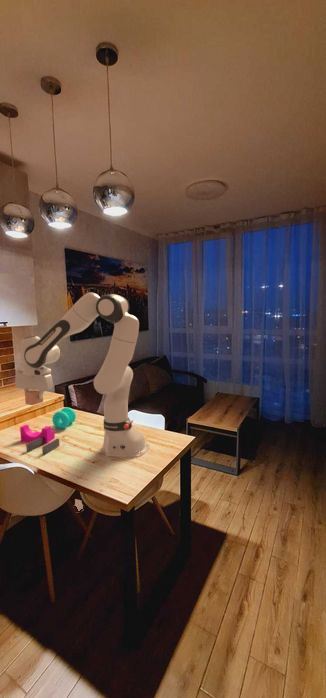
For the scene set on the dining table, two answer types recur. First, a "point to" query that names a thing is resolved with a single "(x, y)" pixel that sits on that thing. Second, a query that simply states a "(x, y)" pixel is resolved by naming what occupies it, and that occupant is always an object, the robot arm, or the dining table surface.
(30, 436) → the toy block
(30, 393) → the terracotta block
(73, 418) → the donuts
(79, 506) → the vase
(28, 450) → the guide channel
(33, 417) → the dining table surface
